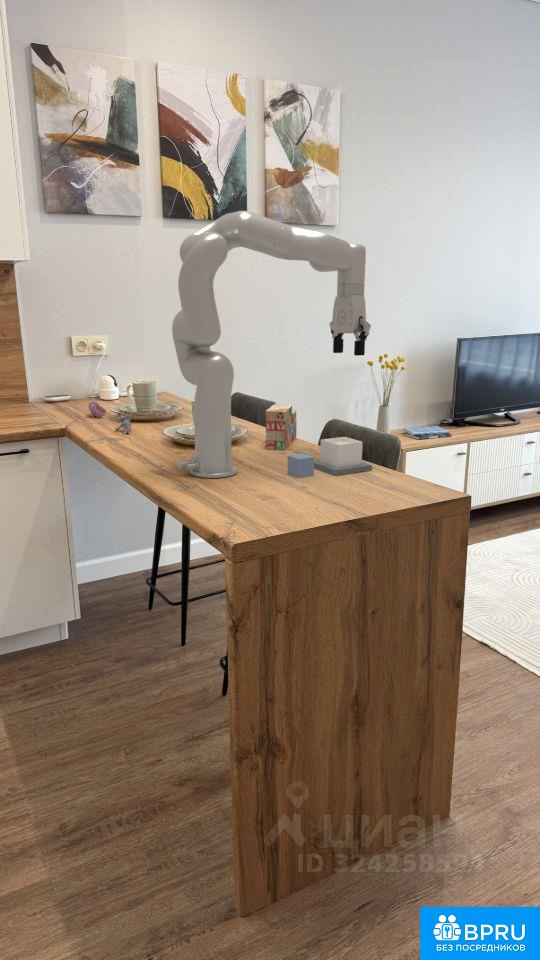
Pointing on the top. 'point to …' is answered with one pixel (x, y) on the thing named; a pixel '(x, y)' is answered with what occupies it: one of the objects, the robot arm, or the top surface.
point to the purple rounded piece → (96, 409)
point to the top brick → (300, 465)
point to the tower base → (341, 456)
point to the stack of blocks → (280, 427)
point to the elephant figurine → (125, 423)
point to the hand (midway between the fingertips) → (348, 354)
